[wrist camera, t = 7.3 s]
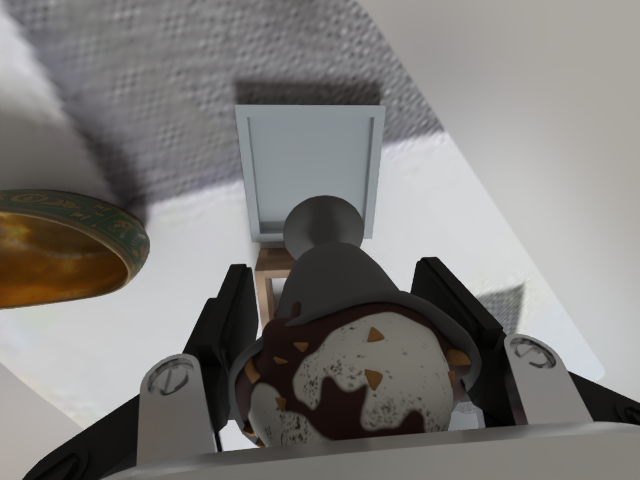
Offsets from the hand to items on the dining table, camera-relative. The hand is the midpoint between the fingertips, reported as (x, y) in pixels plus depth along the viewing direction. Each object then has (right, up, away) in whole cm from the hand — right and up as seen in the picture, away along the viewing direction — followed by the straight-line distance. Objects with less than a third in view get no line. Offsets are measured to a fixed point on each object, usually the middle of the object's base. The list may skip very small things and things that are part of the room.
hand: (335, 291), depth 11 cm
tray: (-2, +9, +18) cm, 20 cm away
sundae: (0, +3, +5) cm, 6 cm away
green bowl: (-29, +4, +19) cm, 35 cm away
